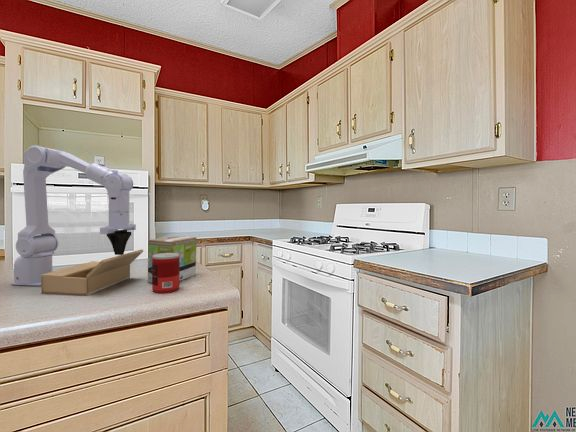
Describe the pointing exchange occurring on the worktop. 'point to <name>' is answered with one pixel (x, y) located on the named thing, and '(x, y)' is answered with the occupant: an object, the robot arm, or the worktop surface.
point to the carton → (81, 279)
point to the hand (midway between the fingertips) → (119, 254)
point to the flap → (114, 263)
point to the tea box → (175, 245)
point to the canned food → (165, 272)
